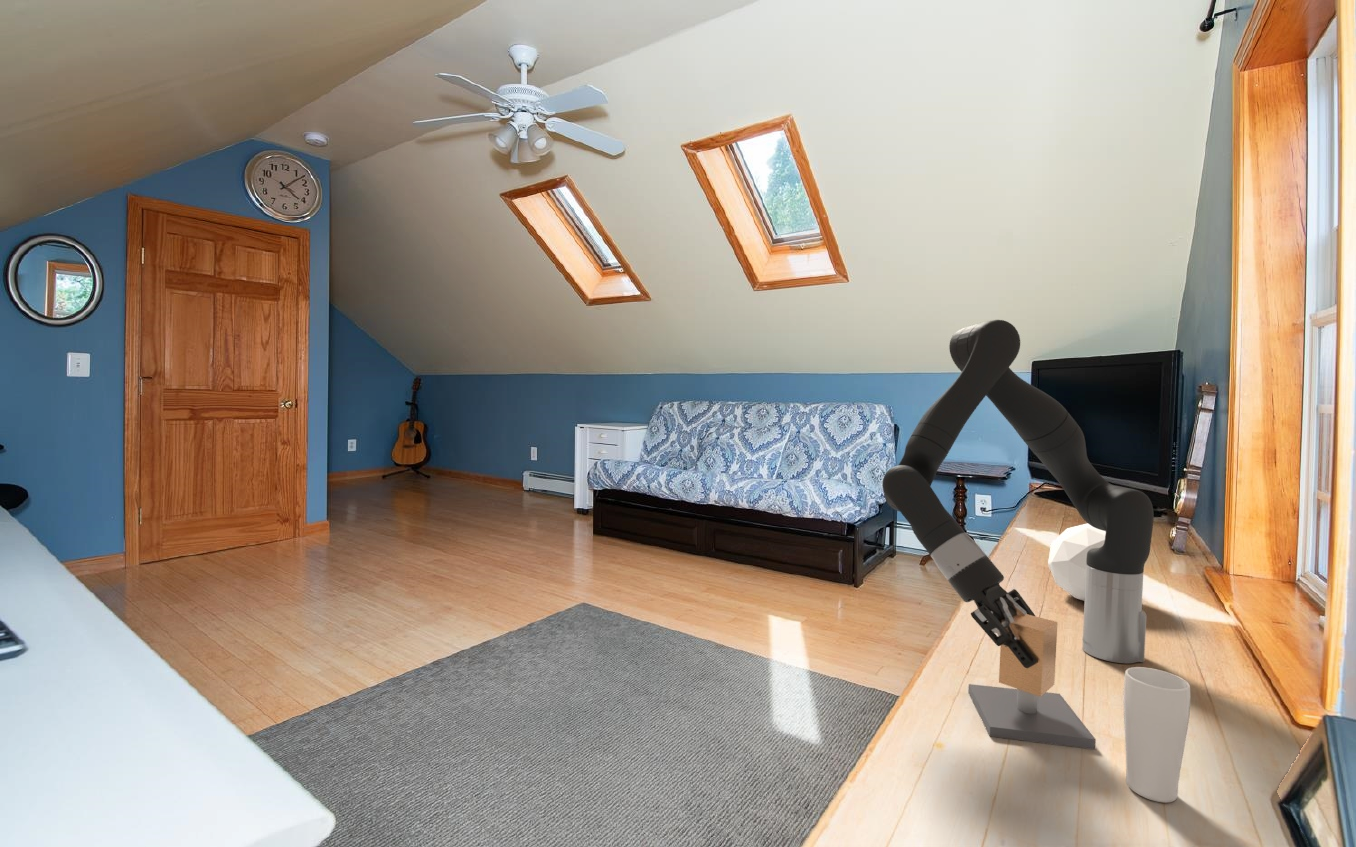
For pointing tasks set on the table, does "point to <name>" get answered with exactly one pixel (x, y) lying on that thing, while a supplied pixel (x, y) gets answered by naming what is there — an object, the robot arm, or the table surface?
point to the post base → (1029, 717)
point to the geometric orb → (1073, 557)
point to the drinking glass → (1155, 731)
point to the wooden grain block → (1042, 645)
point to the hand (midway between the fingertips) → (1040, 659)
